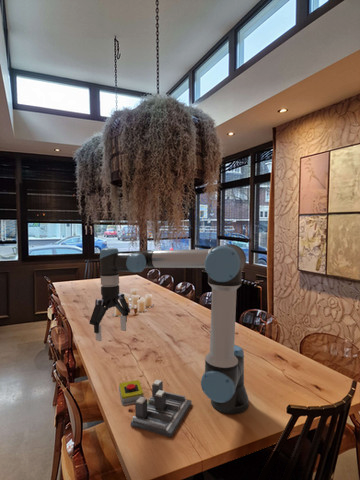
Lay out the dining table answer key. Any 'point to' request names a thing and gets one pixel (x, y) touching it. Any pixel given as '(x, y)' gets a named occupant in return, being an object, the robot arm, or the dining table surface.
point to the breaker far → (156, 387)
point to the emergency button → (130, 392)
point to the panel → (163, 415)
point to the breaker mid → (160, 400)
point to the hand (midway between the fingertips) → (111, 335)
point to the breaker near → (141, 408)
